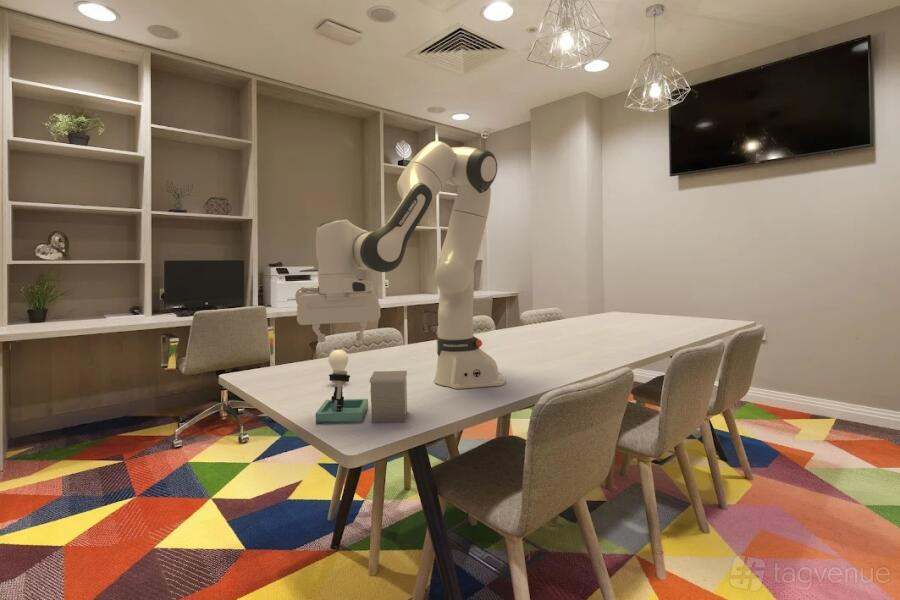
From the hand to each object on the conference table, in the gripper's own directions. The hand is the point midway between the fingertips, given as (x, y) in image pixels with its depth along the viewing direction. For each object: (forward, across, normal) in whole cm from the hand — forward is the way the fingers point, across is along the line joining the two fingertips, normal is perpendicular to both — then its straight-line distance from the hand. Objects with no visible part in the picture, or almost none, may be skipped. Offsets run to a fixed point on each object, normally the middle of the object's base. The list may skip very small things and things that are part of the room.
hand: (340, 340), depth 117 cm
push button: (+18, -2, -2) cm, 18 cm away
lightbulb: (+19, -8, +30) cm, 36 cm away
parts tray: (+19, -1, 0) cm, 19 cm away
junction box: (+19, +11, -2) cm, 23 cm away
